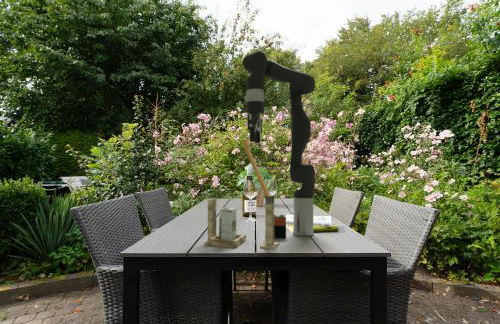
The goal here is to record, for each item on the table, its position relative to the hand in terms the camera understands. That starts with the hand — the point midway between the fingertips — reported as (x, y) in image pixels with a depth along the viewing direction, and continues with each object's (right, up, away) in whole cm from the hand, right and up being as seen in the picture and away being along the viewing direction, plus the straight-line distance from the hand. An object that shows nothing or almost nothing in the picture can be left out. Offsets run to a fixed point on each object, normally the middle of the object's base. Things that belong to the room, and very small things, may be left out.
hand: (255, 142), depth 128 cm
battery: (+11, -42, +14) cm, 46 cm away
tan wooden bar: (0, -12, 0) cm, 12 cm away
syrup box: (-11, -42, +3) cm, 44 cm away
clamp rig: (-5, -42, +1) cm, 42 cm away
